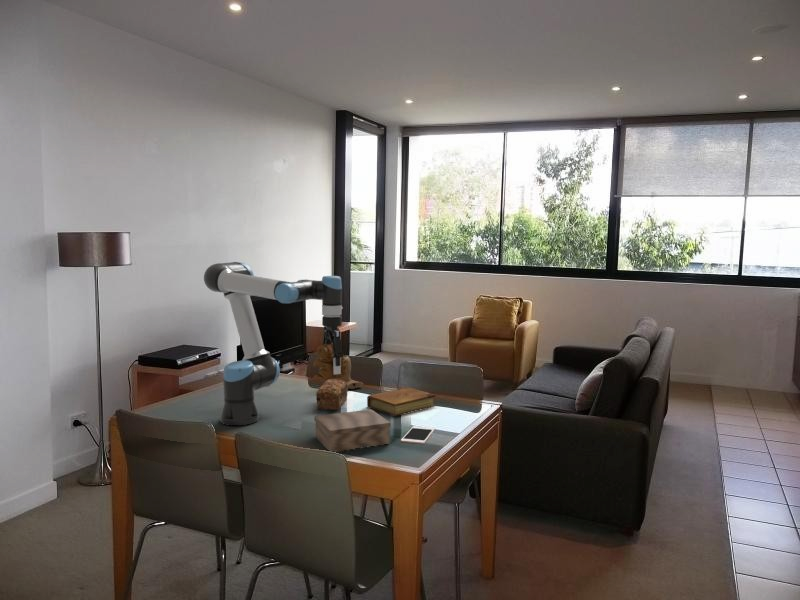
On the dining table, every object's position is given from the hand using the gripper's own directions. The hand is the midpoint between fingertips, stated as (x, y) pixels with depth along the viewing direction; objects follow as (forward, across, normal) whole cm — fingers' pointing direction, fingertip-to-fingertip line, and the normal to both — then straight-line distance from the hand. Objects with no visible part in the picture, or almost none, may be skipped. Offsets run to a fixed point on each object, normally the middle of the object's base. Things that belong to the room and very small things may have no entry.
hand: (332, 370), depth 250 cm
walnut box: (+21, -22, 0) cm, 31 cm away
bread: (+22, +27, -9) cm, 36 cm away
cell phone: (+22, -26, -25) cm, 42 cm away
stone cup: (+22, +54, -24) cm, 63 cm away
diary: (+22, +12, -35) cm, 43 cm away
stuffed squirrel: (+3, +1, 0) cm, 3 cm away
